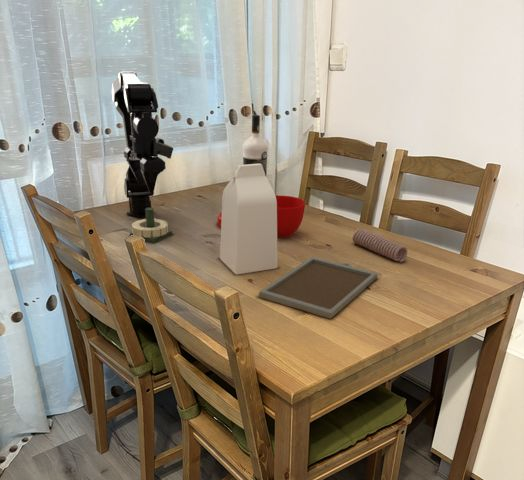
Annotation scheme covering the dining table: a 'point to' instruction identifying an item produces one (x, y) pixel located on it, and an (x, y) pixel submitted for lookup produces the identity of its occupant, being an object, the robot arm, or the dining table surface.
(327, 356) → the dining table surface
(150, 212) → the peg stand
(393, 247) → the coil
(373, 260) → the dining table surface
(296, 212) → the ceramic cup
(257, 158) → the vodka
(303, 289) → the grey picture frame
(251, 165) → the milk
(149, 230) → the ring
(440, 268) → the dining table surface
